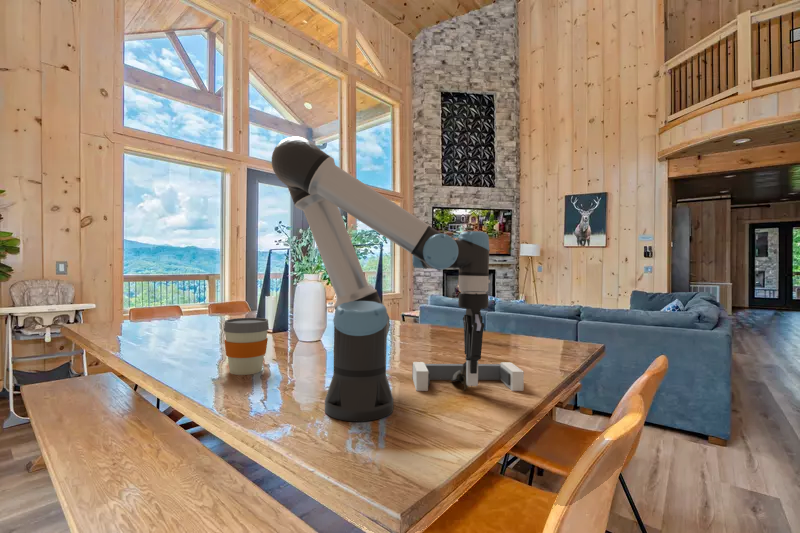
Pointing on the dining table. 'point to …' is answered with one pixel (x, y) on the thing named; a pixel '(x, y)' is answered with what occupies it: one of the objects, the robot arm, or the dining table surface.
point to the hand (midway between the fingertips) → (471, 384)
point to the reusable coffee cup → (245, 344)
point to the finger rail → (428, 372)
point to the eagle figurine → (461, 376)
